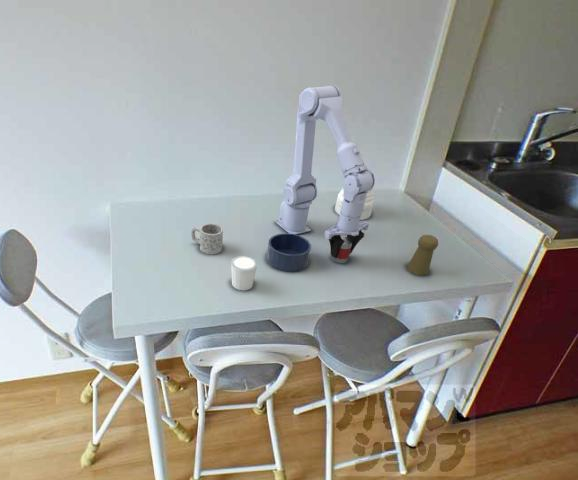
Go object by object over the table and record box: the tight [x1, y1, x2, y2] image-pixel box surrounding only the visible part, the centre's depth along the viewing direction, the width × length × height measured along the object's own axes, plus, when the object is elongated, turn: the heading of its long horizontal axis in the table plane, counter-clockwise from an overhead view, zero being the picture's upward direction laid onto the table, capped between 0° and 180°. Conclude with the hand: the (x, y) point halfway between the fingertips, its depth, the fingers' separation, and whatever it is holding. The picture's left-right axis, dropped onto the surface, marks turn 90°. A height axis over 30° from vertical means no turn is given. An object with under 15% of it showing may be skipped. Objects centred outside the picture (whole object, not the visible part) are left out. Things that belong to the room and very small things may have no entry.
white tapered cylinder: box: [230, 255, 258, 291], centre depth 112 cm, size 7×7×7 cm
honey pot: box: [334, 187, 375, 221], centre depth 147 cm, size 13×13×18 cm
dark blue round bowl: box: [266, 232, 312, 273], centre depth 123 cm, size 12×12×6 cm
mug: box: [191, 223, 224, 255], centre depth 126 cm, size 10×7×7 cm, turn 65°
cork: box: [406, 234, 439, 277], centre depth 121 cm, size 6×6×11 cm
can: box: [331, 235, 353, 264], centre depth 125 cm, size 5×5×6 cm
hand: (340, 254), depth 126 cm, fingers closed on can, 5 cm apart
